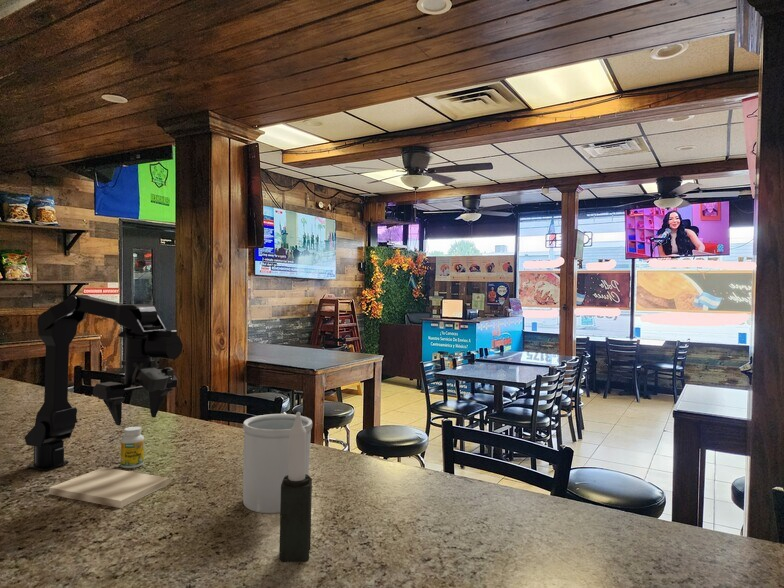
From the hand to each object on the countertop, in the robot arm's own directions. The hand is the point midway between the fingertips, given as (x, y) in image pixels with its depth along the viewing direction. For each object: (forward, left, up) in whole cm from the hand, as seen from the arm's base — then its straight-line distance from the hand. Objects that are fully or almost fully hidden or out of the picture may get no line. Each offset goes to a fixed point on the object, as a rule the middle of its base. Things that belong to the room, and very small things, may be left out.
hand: (136, 421), depth 121 cm
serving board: (0, -7, -14) cm, 16 cm away
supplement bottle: (-8, +7, -14) cm, 18 cm away
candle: (+53, -18, -14) cm, 58 cm away
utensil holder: (+38, +1, -14) cm, 40 cm away
